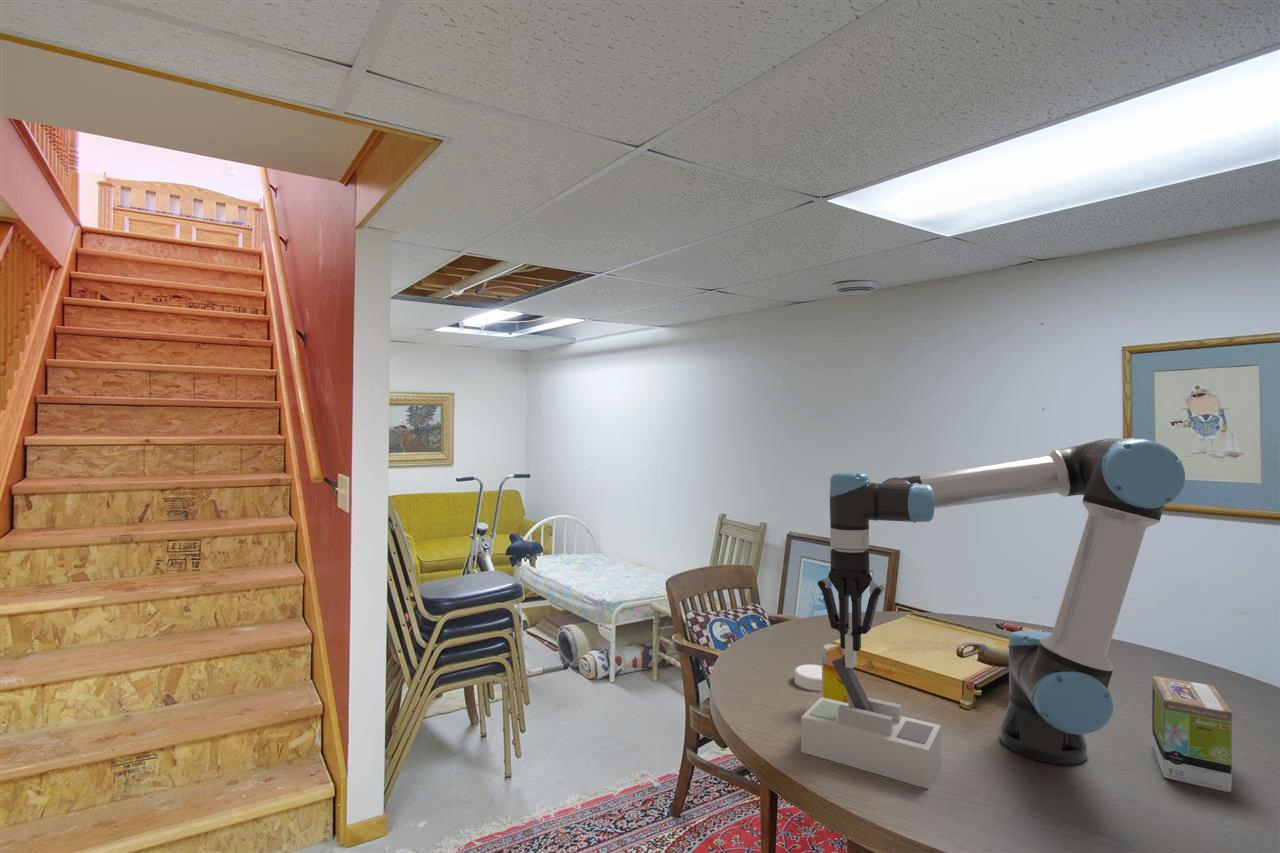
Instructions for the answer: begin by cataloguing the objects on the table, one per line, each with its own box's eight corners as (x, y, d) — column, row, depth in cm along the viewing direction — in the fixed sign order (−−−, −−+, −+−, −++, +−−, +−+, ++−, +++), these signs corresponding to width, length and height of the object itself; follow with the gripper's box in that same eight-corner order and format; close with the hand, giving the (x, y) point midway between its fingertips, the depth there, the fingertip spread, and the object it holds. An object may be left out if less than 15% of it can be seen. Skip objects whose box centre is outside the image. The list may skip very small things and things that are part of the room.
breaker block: (941, 761, 126) (940, 710, 126) (928, 789, 117) (928, 733, 117) (821, 729, 140) (820, 683, 140) (801, 751, 130) (800, 702, 130)
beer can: (851, 719, 145) (850, 652, 145) (823, 717, 146) (822, 651, 146) (848, 708, 151) (847, 644, 151) (821, 706, 152) (820, 642, 152)
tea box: (1234, 795, 114) (1233, 711, 115) (1162, 779, 120) (1161, 699, 120) (1215, 758, 127) (1214, 683, 127) (1150, 745, 133) (1150, 673, 133)
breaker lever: (876, 710, 129) (842, 643, 133) (871, 717, 126) (836, 648, 130) (864, 714, 131) (830, 647, 135) (858, 721, 128) (824, 652, 132)
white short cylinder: (839, 682, 167) (839, 668, 167) (828, 695, 159) (828, 681, 159) (802, 674, 172) (802, 661, 172) (788, 686, 164) (788, 672, 164)
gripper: (887, 549, 130) (888, 666, 130) (824, 543, 137) (825, 654, 137) (877, 555, 124) (879, 678, 124) (812, 548, 131) (813, 664, 131)
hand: (850, 665), depth 130 cm, fingers closed
